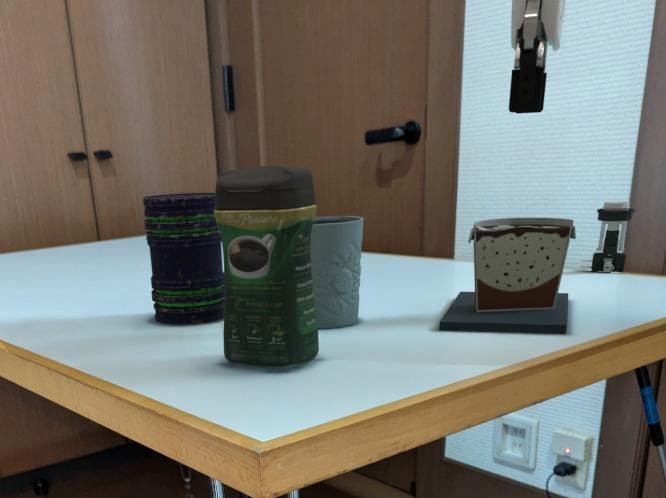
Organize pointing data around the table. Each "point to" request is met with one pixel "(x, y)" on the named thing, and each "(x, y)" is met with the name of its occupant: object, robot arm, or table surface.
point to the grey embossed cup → (336, 269)
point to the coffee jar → (267, 265)
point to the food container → (519, 262)
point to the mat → (505, 317)
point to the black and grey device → (611, 237)
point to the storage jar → (185, 258)
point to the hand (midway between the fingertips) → (526, 112)
